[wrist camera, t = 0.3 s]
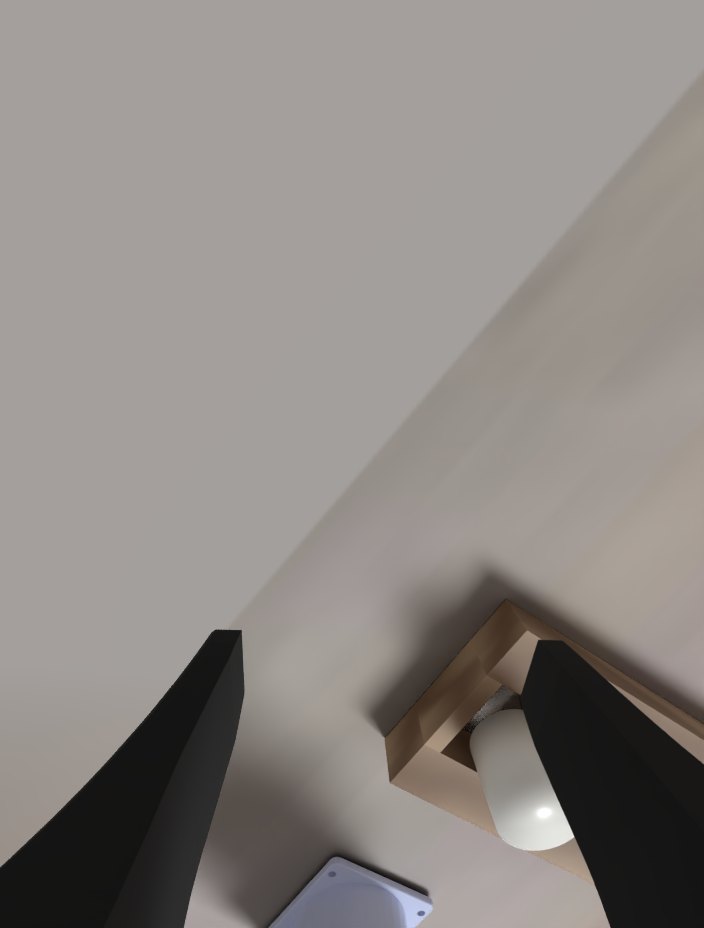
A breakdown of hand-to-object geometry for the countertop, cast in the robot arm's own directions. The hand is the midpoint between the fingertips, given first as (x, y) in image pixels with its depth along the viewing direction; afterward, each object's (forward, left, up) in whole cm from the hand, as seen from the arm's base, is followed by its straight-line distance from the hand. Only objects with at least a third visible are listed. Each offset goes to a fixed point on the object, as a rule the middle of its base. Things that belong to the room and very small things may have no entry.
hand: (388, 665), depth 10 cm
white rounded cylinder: (-5, -13, -8) cm, 16 cm away
